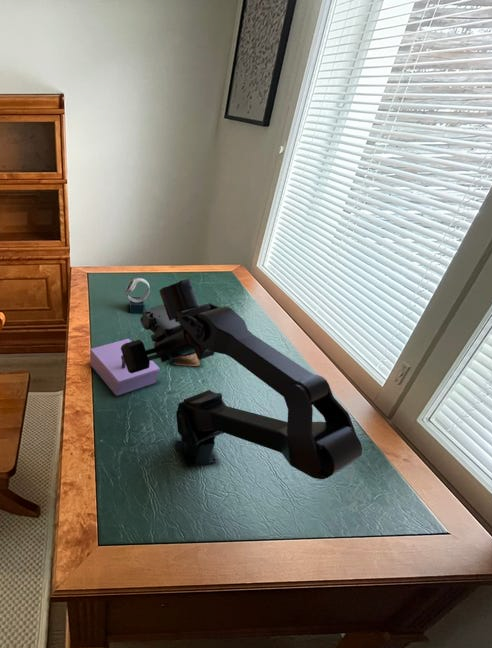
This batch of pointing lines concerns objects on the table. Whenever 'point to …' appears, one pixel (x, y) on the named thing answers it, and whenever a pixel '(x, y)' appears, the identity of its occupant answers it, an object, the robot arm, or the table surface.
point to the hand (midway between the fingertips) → (145, 355)
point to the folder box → (124, 386)
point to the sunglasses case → (186, 360)
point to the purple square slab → (119, 362)
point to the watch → (136, 302)
